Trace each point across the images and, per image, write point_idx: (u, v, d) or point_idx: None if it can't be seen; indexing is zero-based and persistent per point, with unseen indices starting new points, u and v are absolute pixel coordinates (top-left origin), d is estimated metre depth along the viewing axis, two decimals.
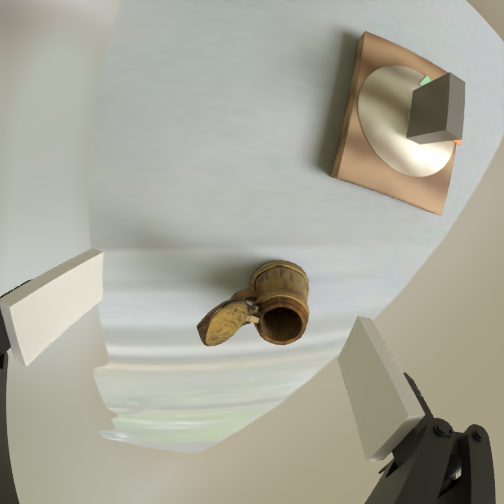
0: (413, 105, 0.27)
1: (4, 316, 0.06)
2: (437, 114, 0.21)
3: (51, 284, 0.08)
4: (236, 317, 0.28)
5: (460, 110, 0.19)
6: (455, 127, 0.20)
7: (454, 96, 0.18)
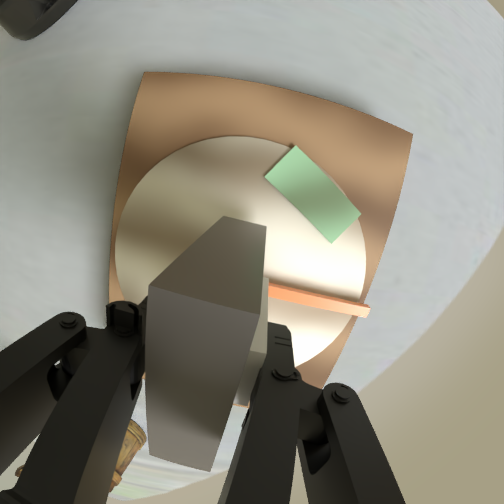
0: None
1: None
2: None
3: None
4: None
5: (202, 425, 0.07)
6: (183, 455, 0.07)
7: (173, 390, 0.06)
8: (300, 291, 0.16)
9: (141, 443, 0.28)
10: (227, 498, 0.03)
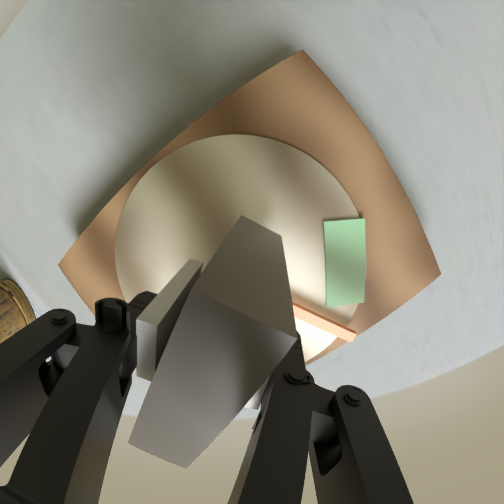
0: None
1: (140, 335, 0.08)
2: None
3: (179, 297, 0.10)
4: None
5: (198, 427, 0.07)
6: (165, 449, 0.07)
7: (181, 391, 0.06)
8: (296, 304, 0.16)
9: None
10: (239, 500, 0.03)
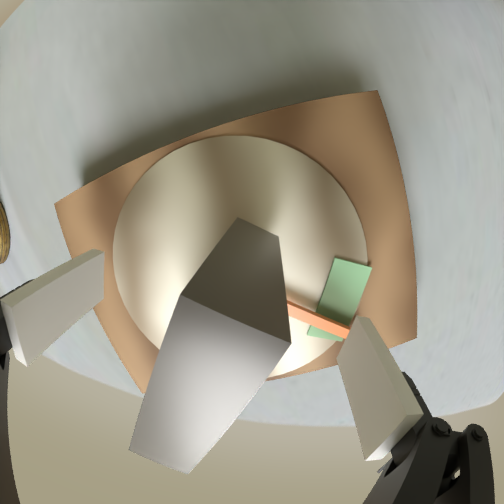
0: None
1: (6, 316, 0.06)
2: None
3: (53, 284, 0.08)
4: None
5: (196, 434, 0.06)
6: (165, 455, 0.07)
7: (176, 398, 0.06)
8: (296, 305, 0.16)
9: None
10: None
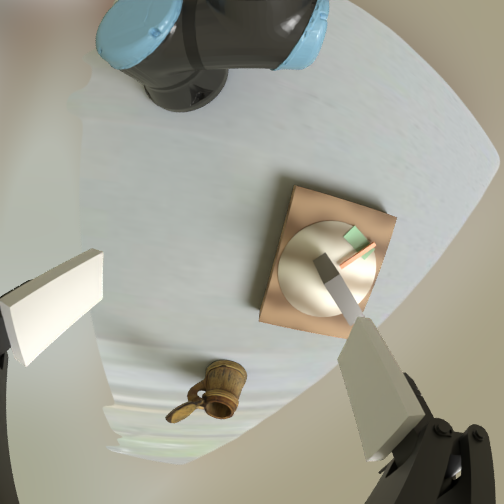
0: None
1: (4, 316, 0.06)
2: None
3: (51, 284, 0.08)
4: (188, 409, 0.42)
5: (350, 301, 0.33)
6: (355, 316, 0.33)
7: (340, 298, 0.33)
8: (350, 258, 0.42)
9: (244, 382, 0.54)
10: None
